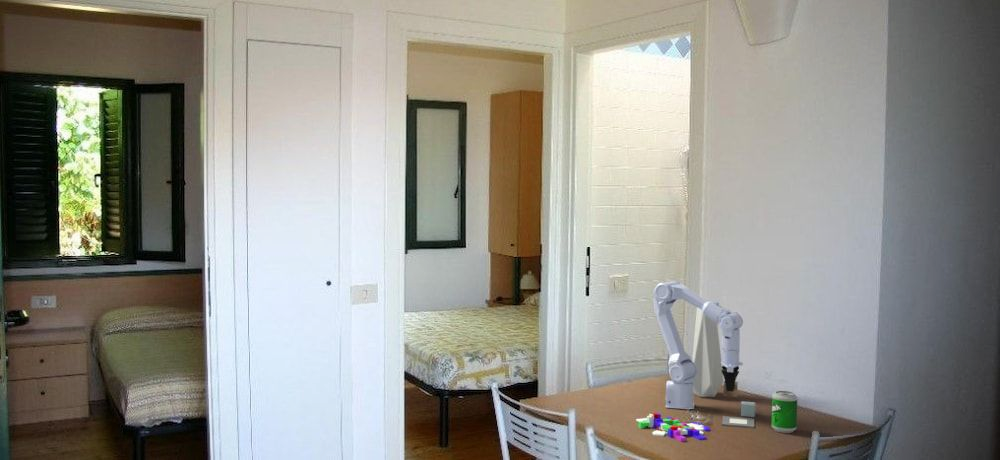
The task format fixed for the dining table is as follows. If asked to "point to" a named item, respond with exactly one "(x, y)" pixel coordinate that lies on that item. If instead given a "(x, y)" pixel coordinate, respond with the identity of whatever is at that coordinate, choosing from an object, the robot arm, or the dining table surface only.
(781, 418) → the soda can
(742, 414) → the pale grey cube
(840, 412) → the dining table surface
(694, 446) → the dining table surface
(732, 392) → the walnut block
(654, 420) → the building block set
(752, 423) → the grey flat square plate
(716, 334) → the vase
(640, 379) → the dining table surface
